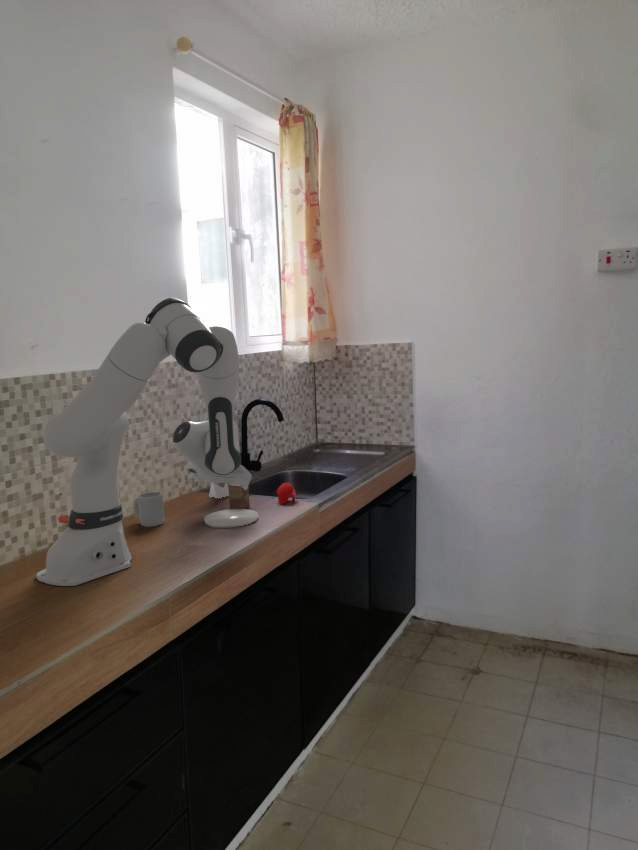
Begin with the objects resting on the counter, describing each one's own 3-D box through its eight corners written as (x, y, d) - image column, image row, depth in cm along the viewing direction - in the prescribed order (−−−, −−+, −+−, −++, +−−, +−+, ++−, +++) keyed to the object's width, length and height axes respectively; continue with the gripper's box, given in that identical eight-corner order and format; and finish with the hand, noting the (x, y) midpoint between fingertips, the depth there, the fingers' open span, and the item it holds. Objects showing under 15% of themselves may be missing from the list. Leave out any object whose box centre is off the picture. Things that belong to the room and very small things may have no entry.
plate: (236, 530, 177) (236, 526, 177) (193, 524, 185) (193, 520, 185) (268, 515, 191) (268, 511, 191) (227, 510, 199) (226, 506, 199)
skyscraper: (222, 492, 223) (216, 414, 220) (236, 495, 219) (230, 415, 215) (204, 497, 218) (198, 417, 214) (218, 500, 213) (212, 418, 209)
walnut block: (241, 510, 198) (239, 485, 197) (229, 509, 201) (228, 484, 200) (249, 506, 202) (248, 482, 201) (238, 505, 205) (236, 481, 203)
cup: (155, 528, 184) (152, 498, 183) (127, 525, 188) (124, 496, 186) (169, 521, 190) (167, 492, 189) (142, 518, 194) (140, 490, 193)
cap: (280, 488, 212) (271, 482, 207) (296, 483, 210) (287, 477, 205) (283, 510, 208) (274, 505, 203) (299, 505, 206) (290, 499, 201)
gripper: (241, 455, 184) (264, 480, 193) (190, 452, 195) (214, 476, 204) (232, 473, 181) (256, 498, 190) (181, 469, 192) (206, 492, 201)
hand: (234, 486), depth 197 cm, fingers open, 8 cm apart
